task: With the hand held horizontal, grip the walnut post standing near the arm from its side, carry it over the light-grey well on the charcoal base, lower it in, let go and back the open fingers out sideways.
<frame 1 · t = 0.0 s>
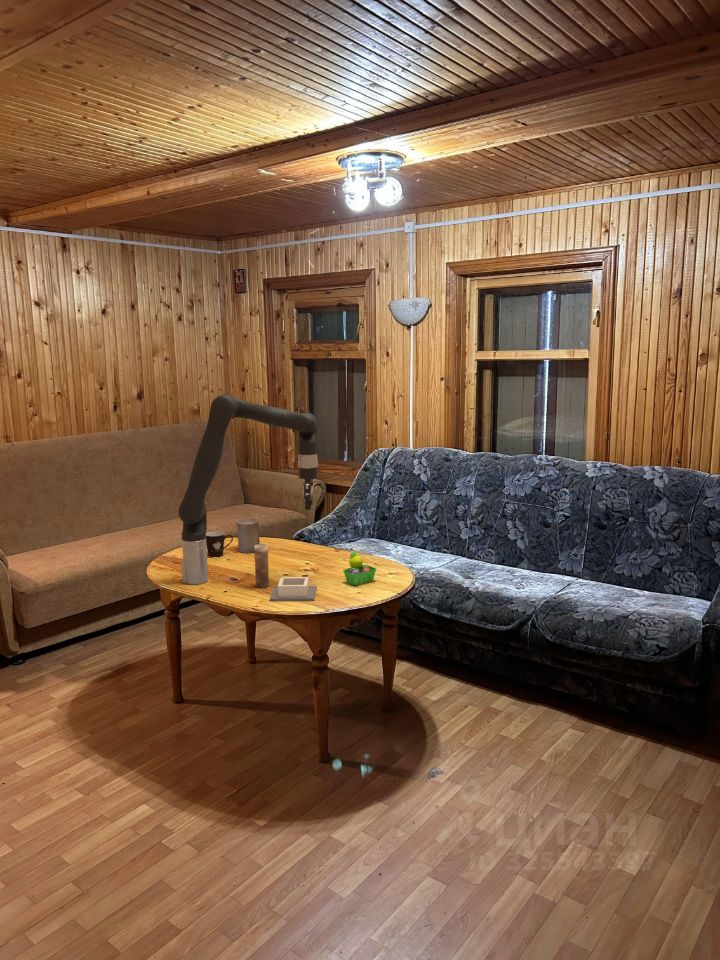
hand: (308, 507, 282), 29 cm above the table, tool pointing down, fingers open, 8 cm apart
fruit basket: (359, 582, 285), on the table
coffee mug: (219, 556, 323), on the table
post well: (293, 594, 270), on the table
walnut post: (262, 586, 280), on the table
pillar candle: (249, 551, 330), on the table
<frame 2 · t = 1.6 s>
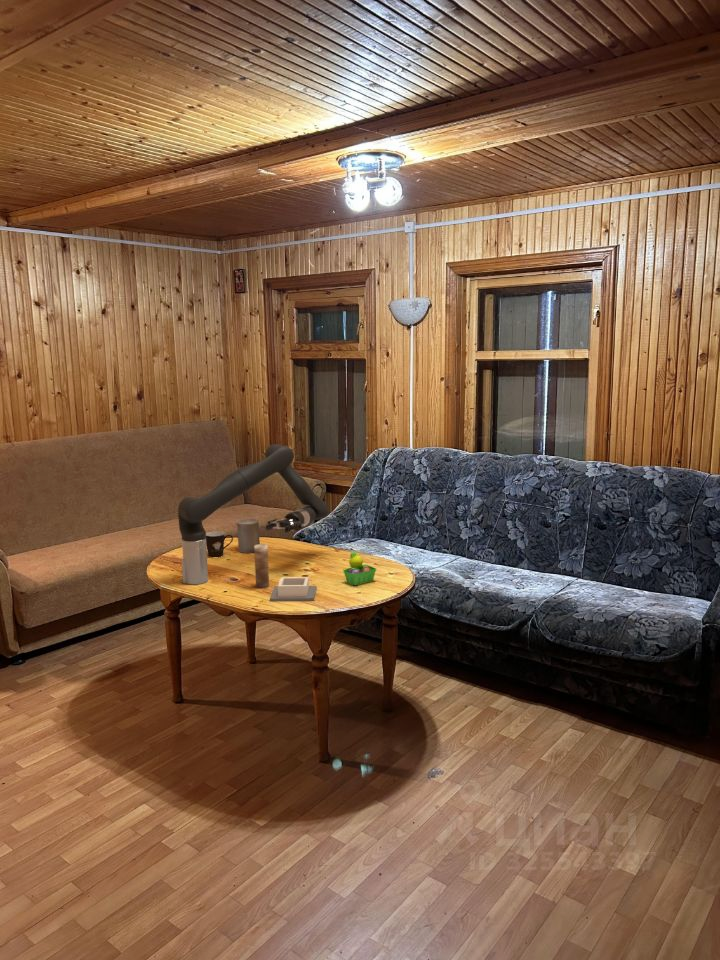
hand: (276, 528, 286), 20 cm above the table, tool horizontal, fingers open, 8 cm apart
nothing on the table moved.
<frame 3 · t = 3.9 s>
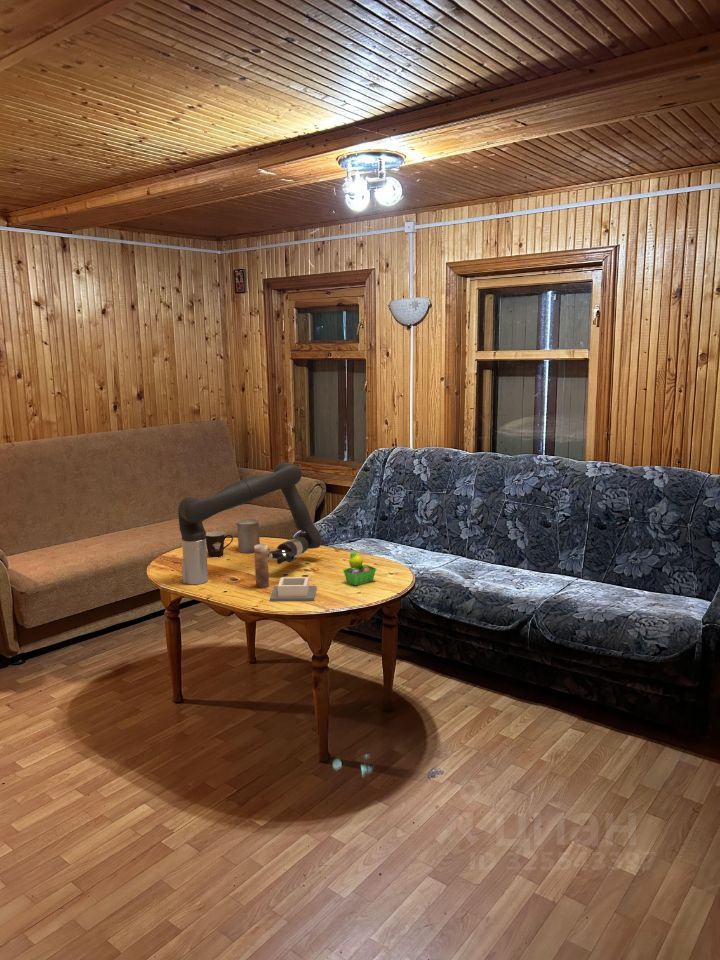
hand: (268, 560, 283), 9 cm above the table, tool horizontal, fingers open, 8 cm apart
nothing on the table moved.
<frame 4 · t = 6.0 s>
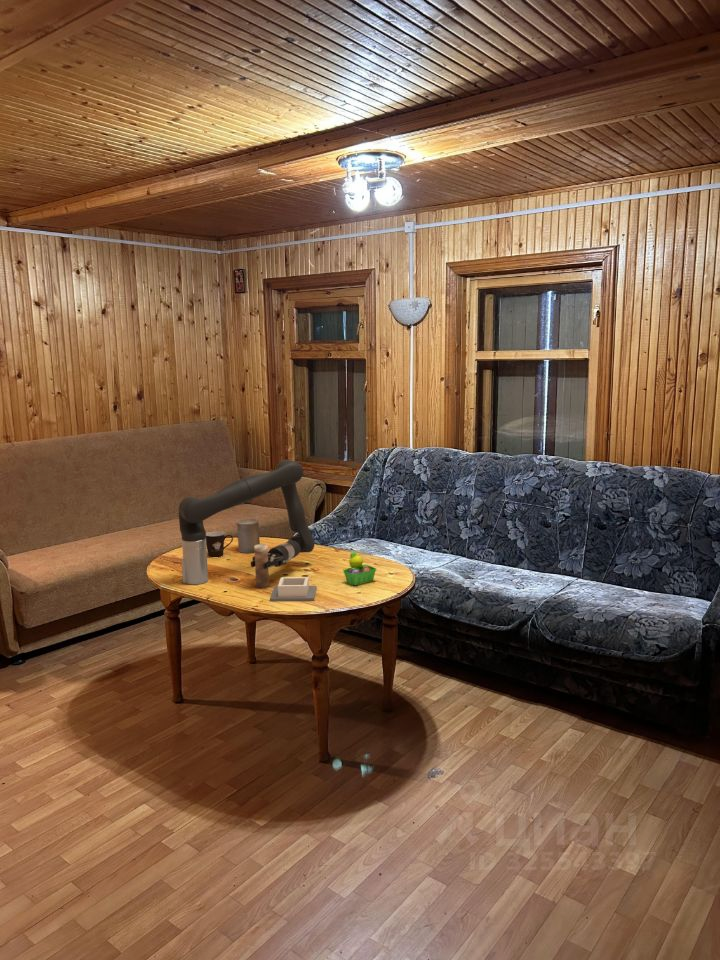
hand: (258, 565, 276), 9 cm above the table, tool horizontal, fingers closed on walnut post, 5 cm apart
walnut post: (262, 586, 280), on the table, touching gripper
everything else where it was.
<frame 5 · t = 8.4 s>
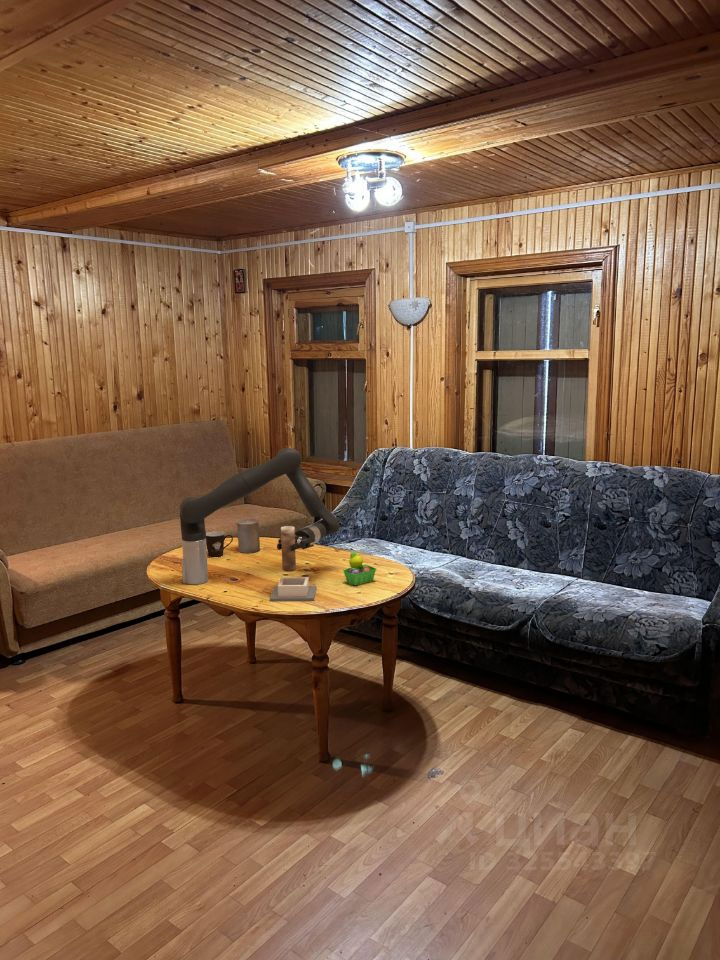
hand: (284, 547, 267), 18 cm above the table, tool horizontal, fingers closed on walnut post, 5 cm apart
walnut post: (289, 569, 271), point 9 cm above the table, touching gripper
everything else where it was.
when the fingers open (11 cm above the table, at t = 10.8 s): walnut post drops 1 cm, resting on post well.
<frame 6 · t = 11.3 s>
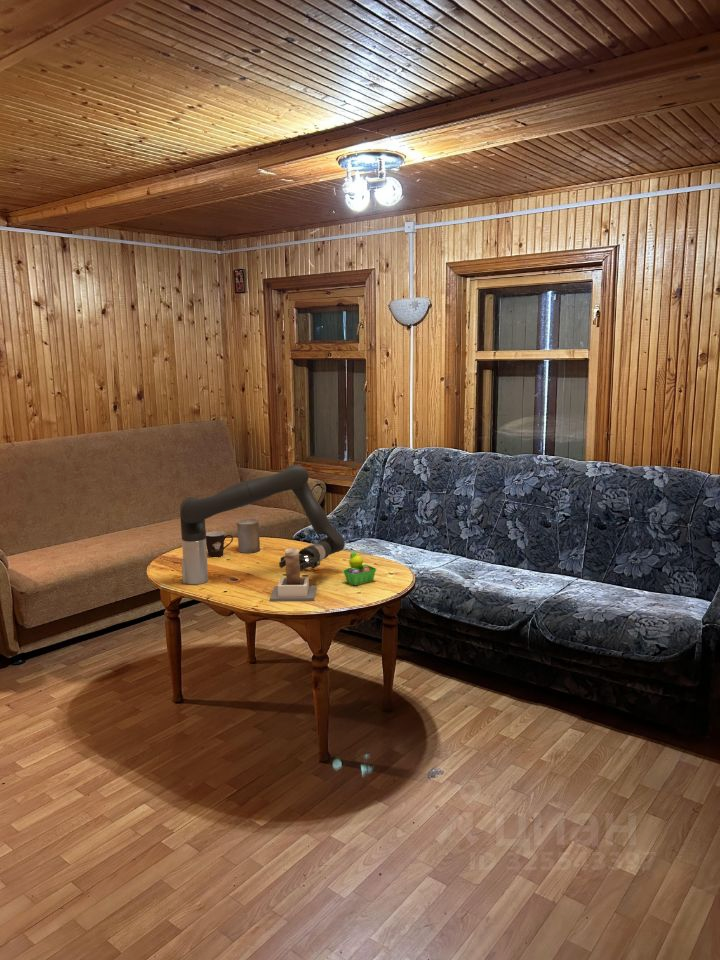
hand: (290, 566, 266), 11 cm above the table, tool horizontal, fingers open, 8 cm apart
walnut post: (293, 591, 270), point 1 cm above the table, touching post well
everything else where it was.
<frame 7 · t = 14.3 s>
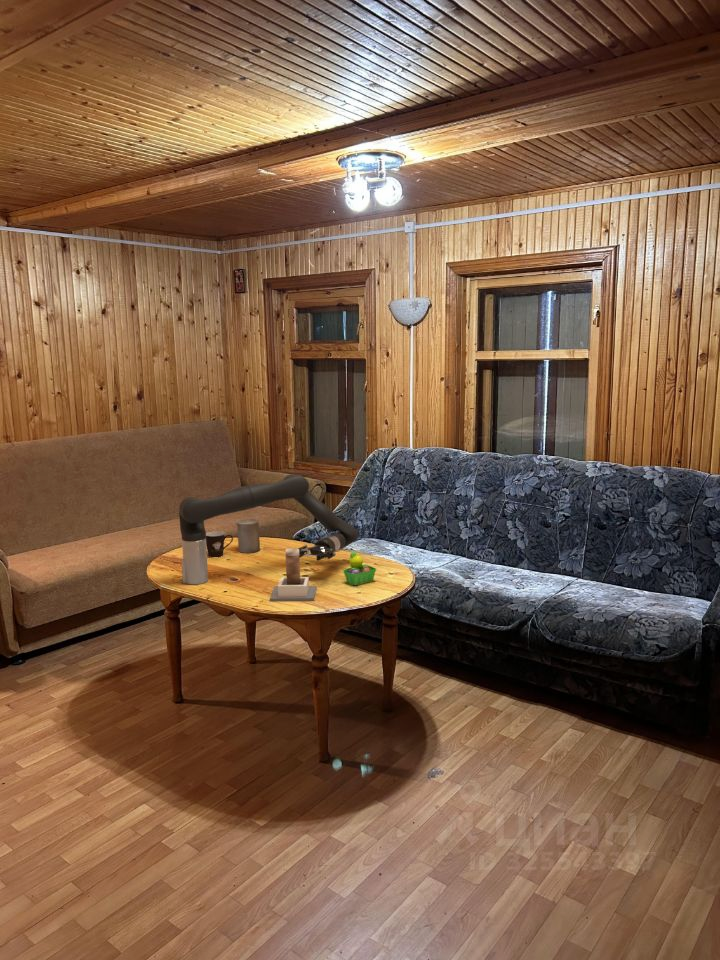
hand: (307, 556, 278), 11 cm above the table, tool horizontal, fingers open, 8 cm apart
nothing on the table moved.
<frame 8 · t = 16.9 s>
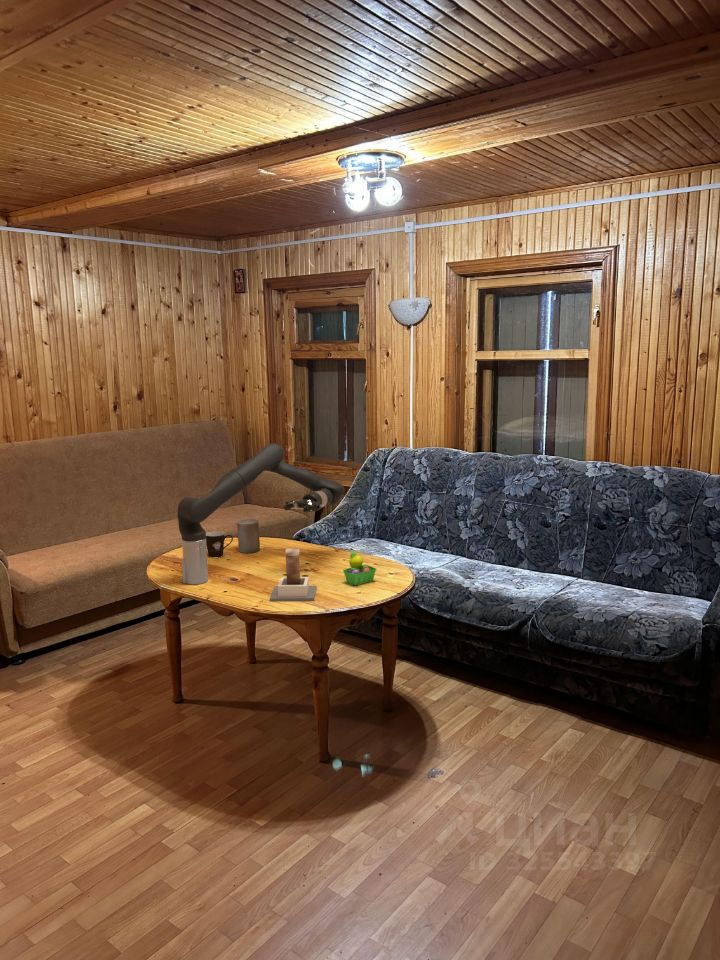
hand: (294, 508, 285), 28 cm above the table, tool horizontal, fingers open, 8 cm apart
nothing on the table moved.
at the end: walnut post 0.1 cm off-centre on the post well, point 1.0 cm above the post well's base; walnut post tilted 1°; the gripper is holding nothing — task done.
